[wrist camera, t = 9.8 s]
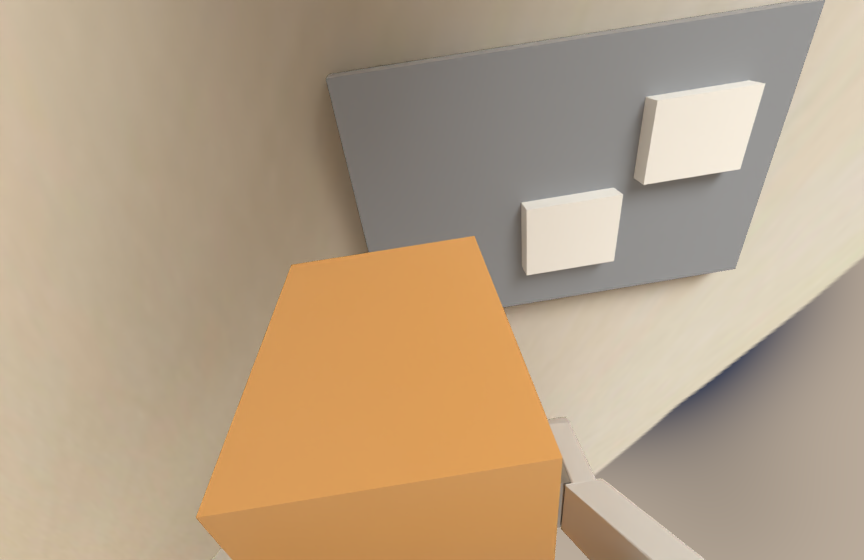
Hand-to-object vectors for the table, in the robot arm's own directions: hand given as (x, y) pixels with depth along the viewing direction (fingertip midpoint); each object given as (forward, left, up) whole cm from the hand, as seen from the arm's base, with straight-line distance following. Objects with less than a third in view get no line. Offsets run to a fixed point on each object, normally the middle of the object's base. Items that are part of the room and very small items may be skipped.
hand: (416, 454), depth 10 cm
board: (+6, +6, -15) cm, 18 cm away
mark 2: (+9, +12, -14) cm, 20 cm away
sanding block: (0, 0, -3) cm, 3 cm away
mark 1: (+8, +5, -14) cm, 17 cm away
